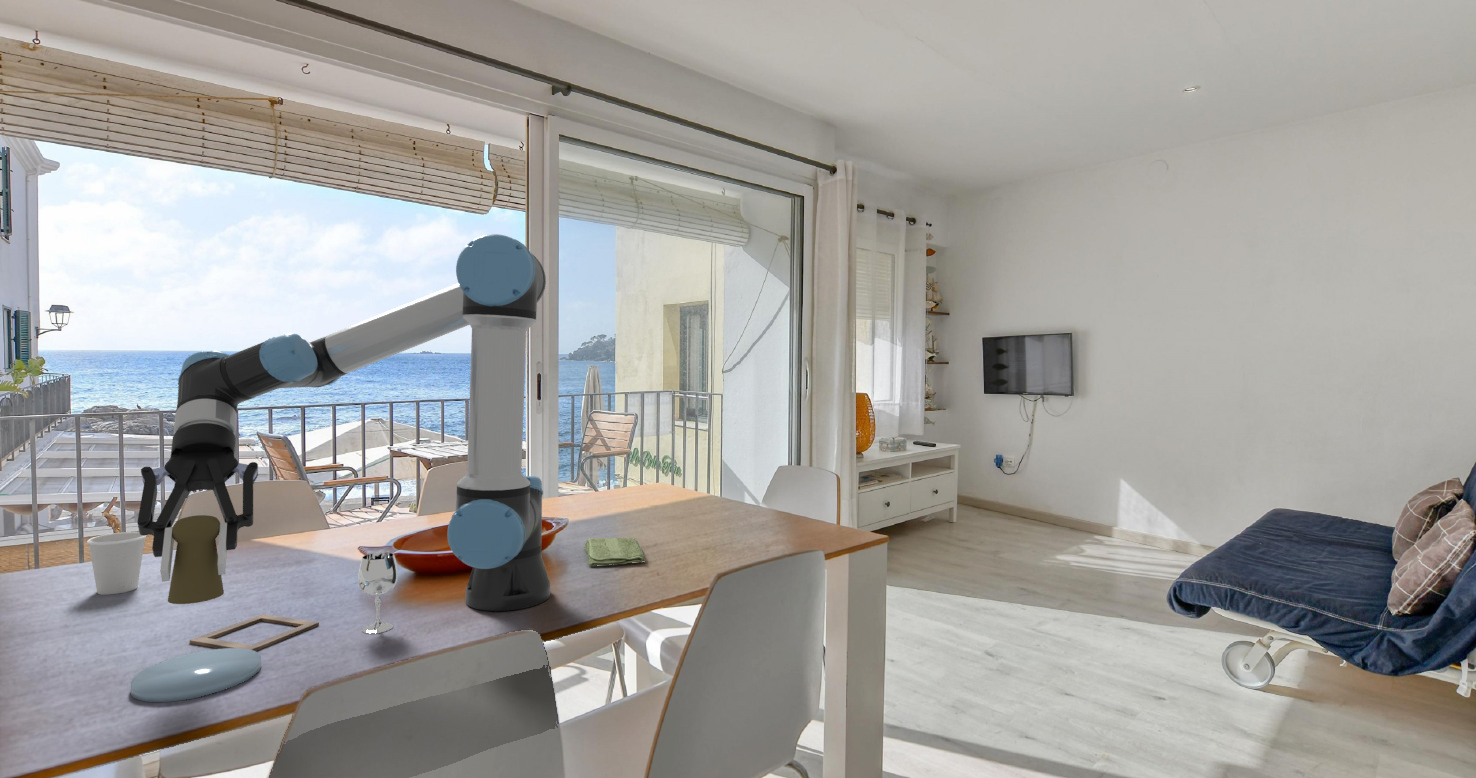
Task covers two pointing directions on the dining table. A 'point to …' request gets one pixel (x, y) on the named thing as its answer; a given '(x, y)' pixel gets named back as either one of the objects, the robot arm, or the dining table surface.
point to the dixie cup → (116, 561)
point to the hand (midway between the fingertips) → (193, 572)
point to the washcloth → (613, 551)
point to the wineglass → (377, 583)
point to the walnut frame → (211, 642)
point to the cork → (195, 561)
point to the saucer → (195, 675)
